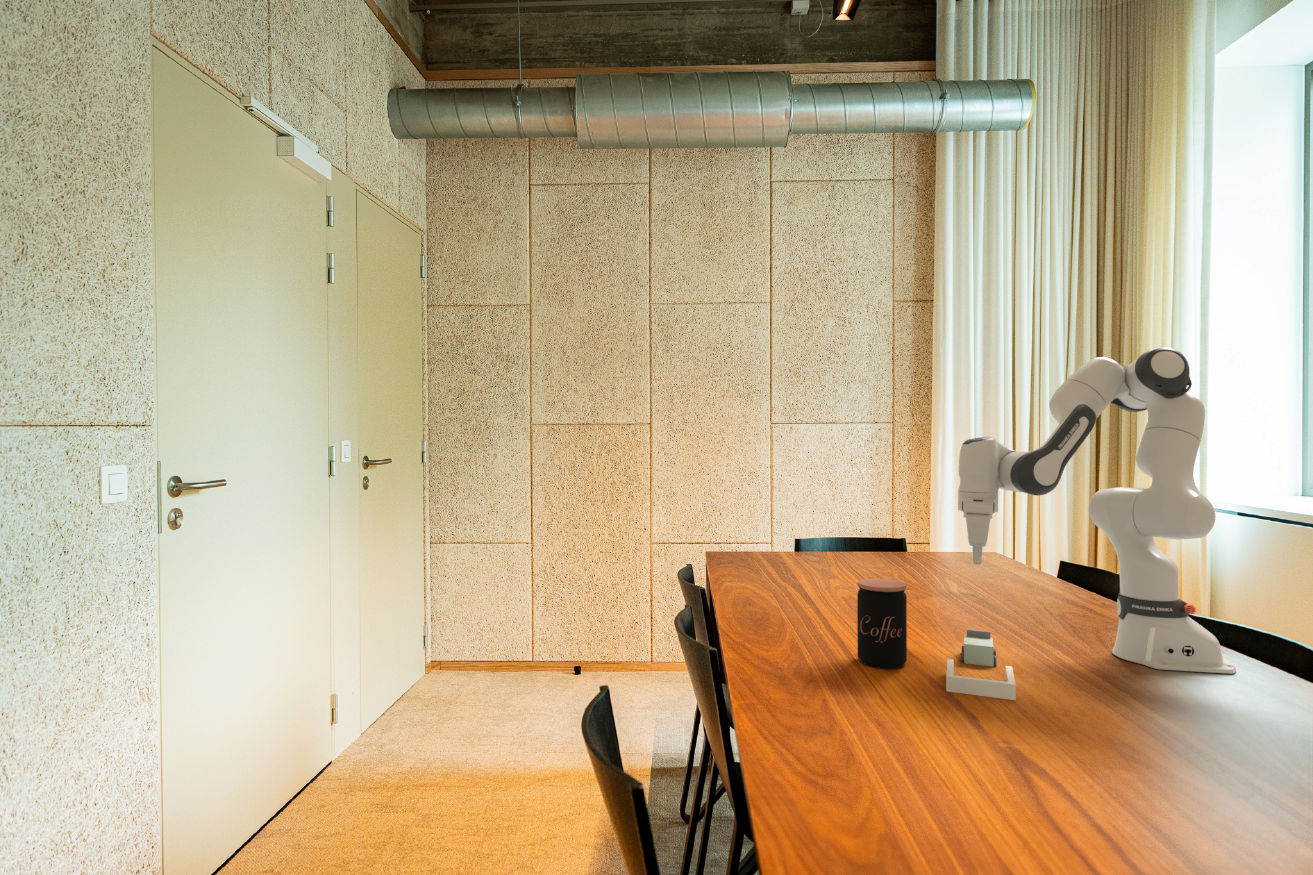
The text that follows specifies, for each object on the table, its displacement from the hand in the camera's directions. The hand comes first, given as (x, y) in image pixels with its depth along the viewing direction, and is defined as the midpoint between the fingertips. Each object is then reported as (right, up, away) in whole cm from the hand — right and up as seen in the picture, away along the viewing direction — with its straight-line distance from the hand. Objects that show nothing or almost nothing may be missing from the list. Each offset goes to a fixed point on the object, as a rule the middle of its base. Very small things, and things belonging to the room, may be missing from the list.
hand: (977, 561), depth 170 cm
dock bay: (-11, -21, -26) cm, 35 cm away
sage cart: (-4, -21, -9) cm, 23 cm away
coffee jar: (-26, -21, -11) cm, 36 cm away
